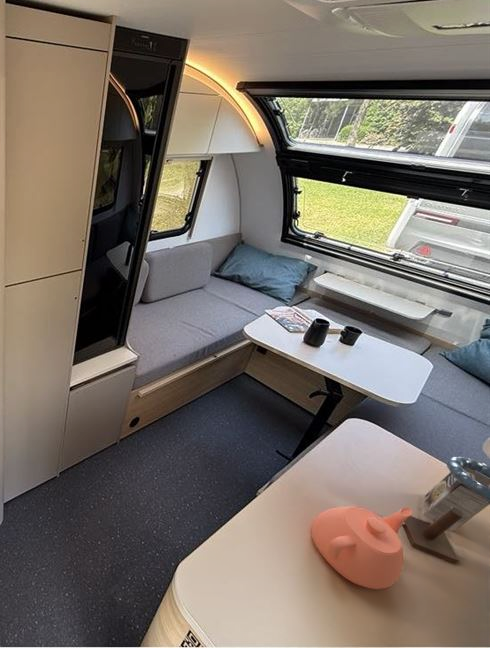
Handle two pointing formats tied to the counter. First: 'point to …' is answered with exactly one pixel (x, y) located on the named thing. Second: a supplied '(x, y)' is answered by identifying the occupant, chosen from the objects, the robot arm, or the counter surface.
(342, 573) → the teapot
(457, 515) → the post
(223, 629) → the counter surface
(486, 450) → the robot arm
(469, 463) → the ring
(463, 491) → the coffee box
